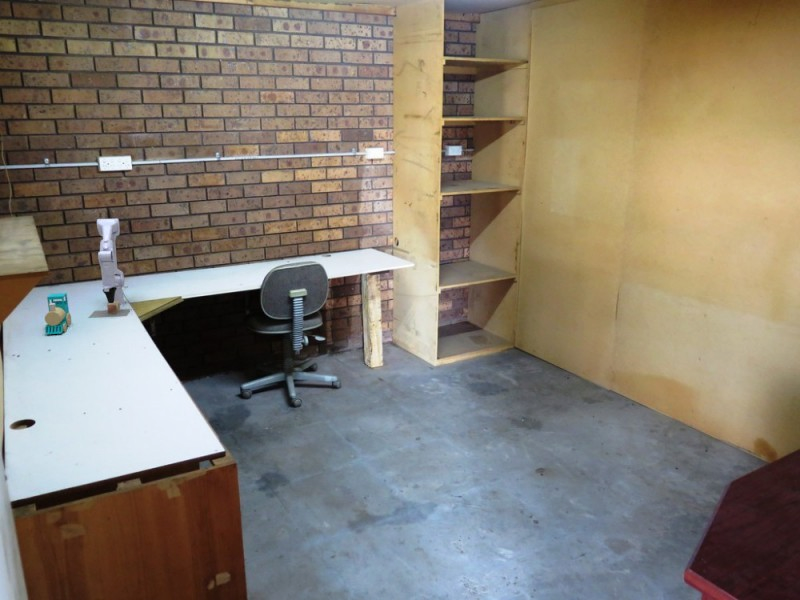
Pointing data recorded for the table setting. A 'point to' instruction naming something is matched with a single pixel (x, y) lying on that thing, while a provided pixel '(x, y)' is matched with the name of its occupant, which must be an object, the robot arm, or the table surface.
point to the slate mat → (105, 313)
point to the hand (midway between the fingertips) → (111, 302)
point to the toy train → (57, 314)
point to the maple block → (113, 307)
